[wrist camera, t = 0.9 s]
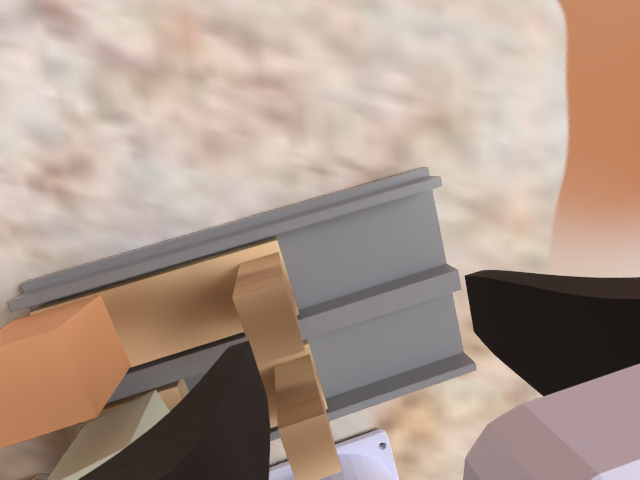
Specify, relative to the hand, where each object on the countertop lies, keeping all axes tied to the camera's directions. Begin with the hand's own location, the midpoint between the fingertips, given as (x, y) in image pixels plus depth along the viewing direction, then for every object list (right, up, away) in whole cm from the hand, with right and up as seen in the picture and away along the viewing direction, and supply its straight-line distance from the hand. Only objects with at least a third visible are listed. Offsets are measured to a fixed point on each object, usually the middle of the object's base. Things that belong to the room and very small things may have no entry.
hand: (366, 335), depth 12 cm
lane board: (-4, -2, +10) cm, 11 cm away
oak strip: (-9, 0, +9) cm, 13 cm away
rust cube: (-14, -2, +7) cm, 15 cm away
